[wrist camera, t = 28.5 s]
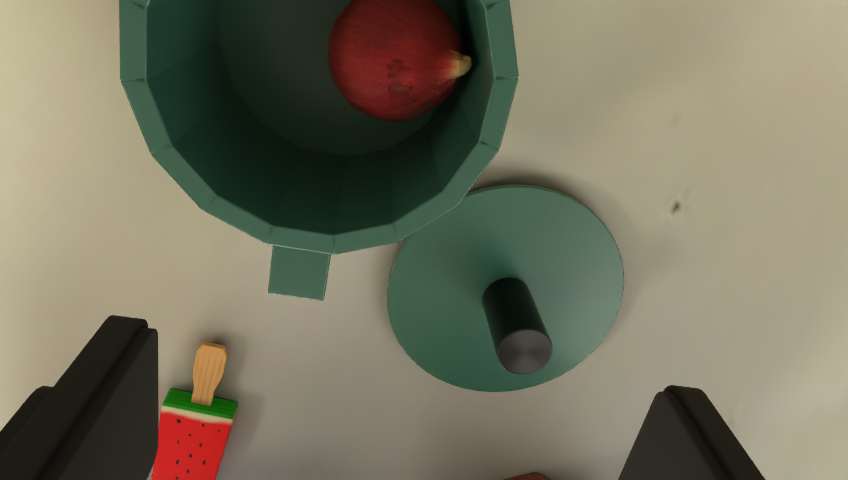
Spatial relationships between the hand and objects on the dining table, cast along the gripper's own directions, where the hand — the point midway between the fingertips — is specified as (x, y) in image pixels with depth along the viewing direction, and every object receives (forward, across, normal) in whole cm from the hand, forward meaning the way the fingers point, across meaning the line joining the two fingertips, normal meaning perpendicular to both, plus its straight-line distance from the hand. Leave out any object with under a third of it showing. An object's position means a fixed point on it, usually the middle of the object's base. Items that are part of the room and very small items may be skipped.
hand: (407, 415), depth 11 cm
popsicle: (+24, +10, +24) cm, 35 cm away
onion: (+22, +3, -3) cm, 23 cm away
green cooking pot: (+24, +4, -3) cm, 24 cm away
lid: (+23, -8, +10) cm, 27 cm away
